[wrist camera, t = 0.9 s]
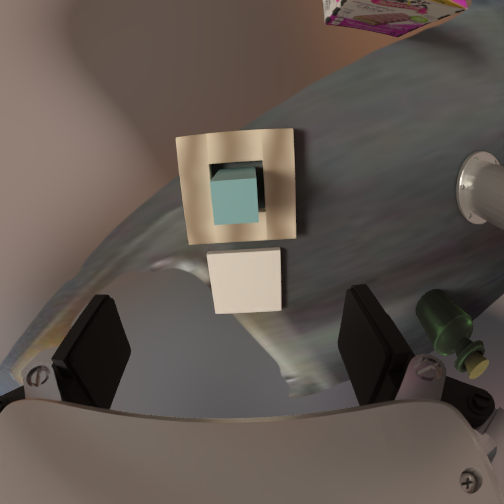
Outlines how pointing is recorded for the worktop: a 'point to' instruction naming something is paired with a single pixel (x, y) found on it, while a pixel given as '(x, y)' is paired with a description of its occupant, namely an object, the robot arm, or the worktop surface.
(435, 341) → the potion bottle
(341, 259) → the worktop surface
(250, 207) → the teal block
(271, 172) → the pocket base
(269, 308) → the tile
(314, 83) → the worktop surface
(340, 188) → the worktop surface
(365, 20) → the candy bar box
